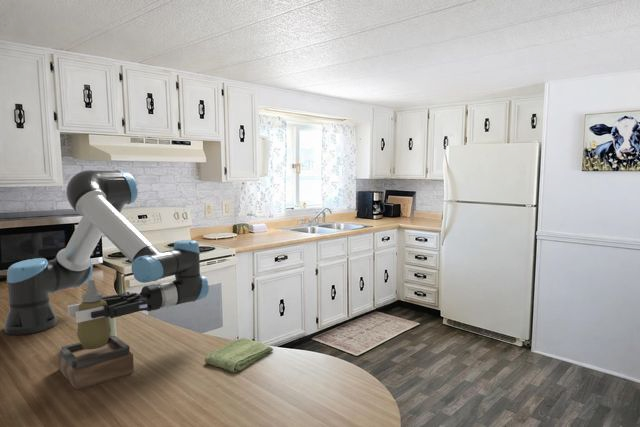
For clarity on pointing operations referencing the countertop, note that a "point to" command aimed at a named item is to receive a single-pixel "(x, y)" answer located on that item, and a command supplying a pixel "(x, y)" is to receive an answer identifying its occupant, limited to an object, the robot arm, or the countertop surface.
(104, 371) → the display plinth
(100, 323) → the squeeze bottle
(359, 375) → the countertop surface
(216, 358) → the washcloth
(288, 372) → the countertop surface
